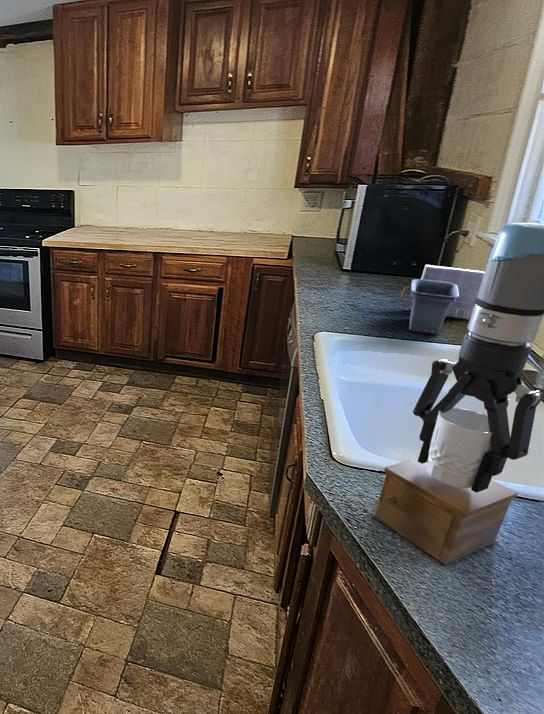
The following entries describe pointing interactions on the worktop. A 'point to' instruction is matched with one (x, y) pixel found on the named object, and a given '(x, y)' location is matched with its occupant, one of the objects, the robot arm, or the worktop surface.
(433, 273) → the cake pan box
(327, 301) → the worktop surface
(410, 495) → the cupboard
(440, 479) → the white cup
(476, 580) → the worktop surface
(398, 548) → the worktop surface
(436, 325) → the storage bin
